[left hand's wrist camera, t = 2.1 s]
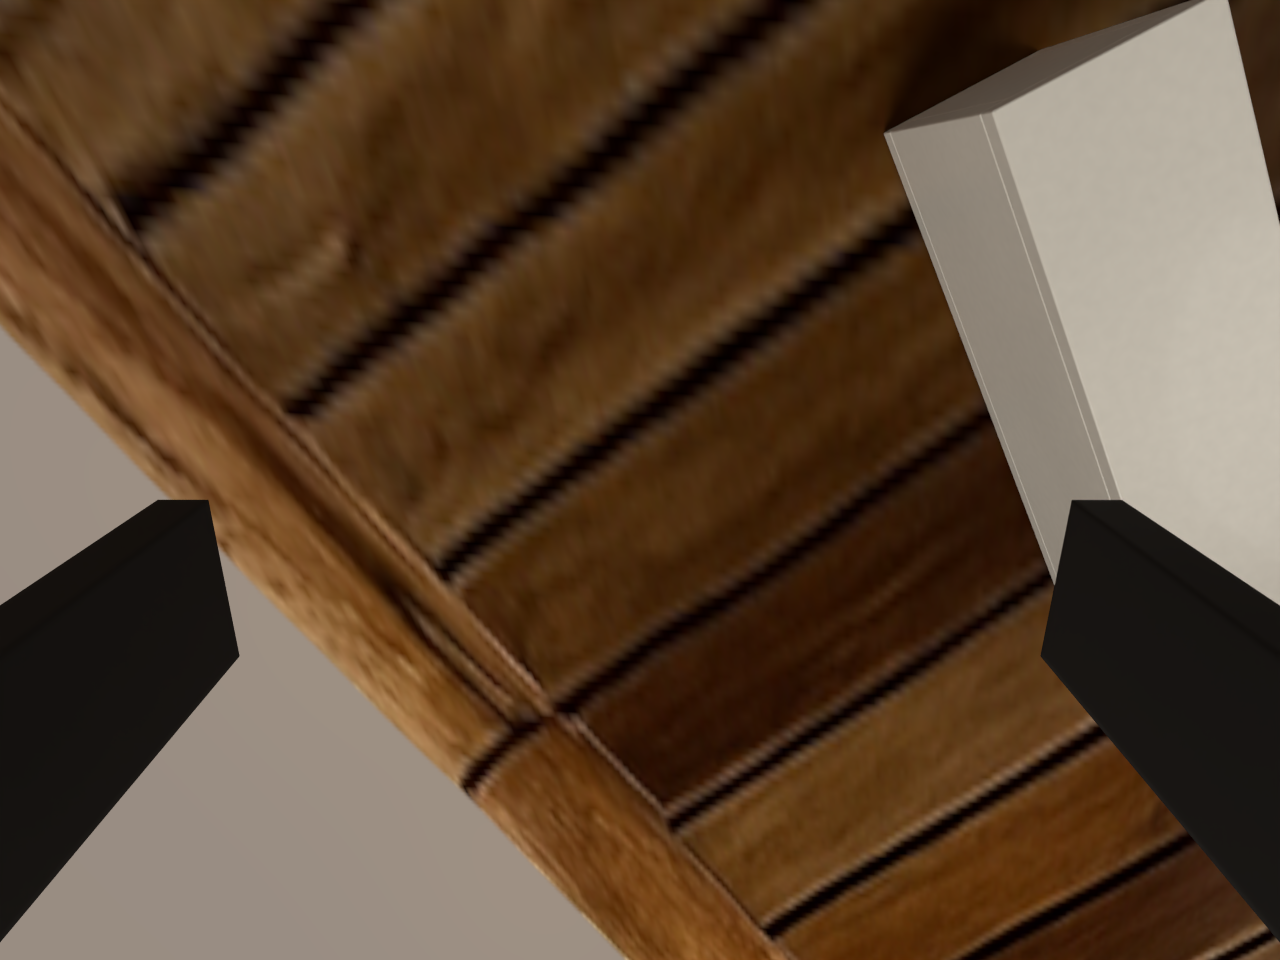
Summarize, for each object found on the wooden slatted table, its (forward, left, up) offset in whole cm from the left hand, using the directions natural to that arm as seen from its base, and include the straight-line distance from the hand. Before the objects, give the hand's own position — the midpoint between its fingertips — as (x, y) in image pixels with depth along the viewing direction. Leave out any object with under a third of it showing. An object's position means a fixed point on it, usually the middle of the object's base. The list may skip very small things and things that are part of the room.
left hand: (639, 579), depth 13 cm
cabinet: (-12, +11, -20) cm, 26 cm away
